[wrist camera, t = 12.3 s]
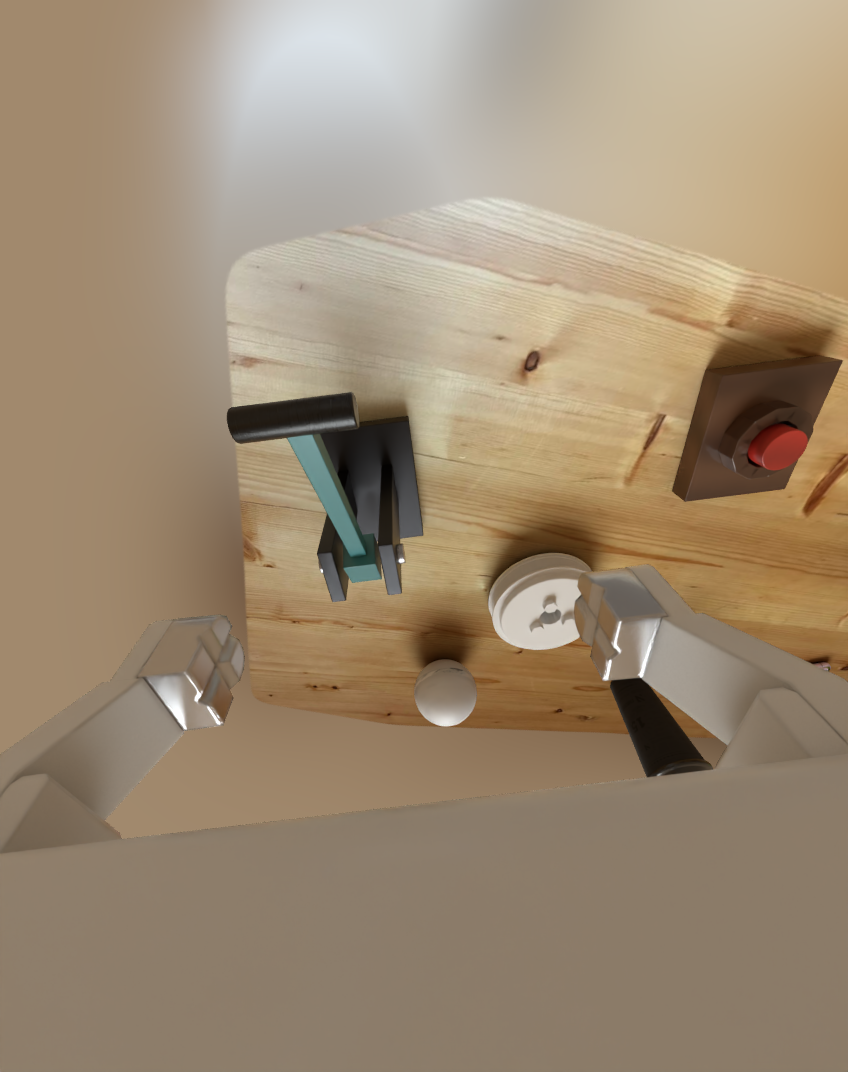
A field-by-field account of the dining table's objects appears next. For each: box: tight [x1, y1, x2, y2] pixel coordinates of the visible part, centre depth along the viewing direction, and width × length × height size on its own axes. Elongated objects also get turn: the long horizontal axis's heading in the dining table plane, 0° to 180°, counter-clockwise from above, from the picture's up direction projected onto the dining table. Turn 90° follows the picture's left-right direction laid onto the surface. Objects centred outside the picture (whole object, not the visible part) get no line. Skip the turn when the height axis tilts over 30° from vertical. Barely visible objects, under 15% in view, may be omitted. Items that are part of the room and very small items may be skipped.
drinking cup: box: [610, 677, 713, 777], centre depth 52 cm, size 8×8×20 cm
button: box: [748, 423, 808, 470], centre depth 35 cm, size 4×4×2 cm
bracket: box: [317, 416, 423, 602], centre depth 33 cm, size 12×9×14 cm
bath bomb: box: [414, 659, 477, 726], centre depth 52 cm, size 8×8×8 cm
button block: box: [673, 355, 843, 502], centre depth 37 cm, size 12×10×4 cm
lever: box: [227, 392, 382, 583], centre depth 23 cm, size 16×5×2 cm, turn 6°
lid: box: [488, 553, 592, 650], centre depth 46 cm, size 13×13×5 cm
